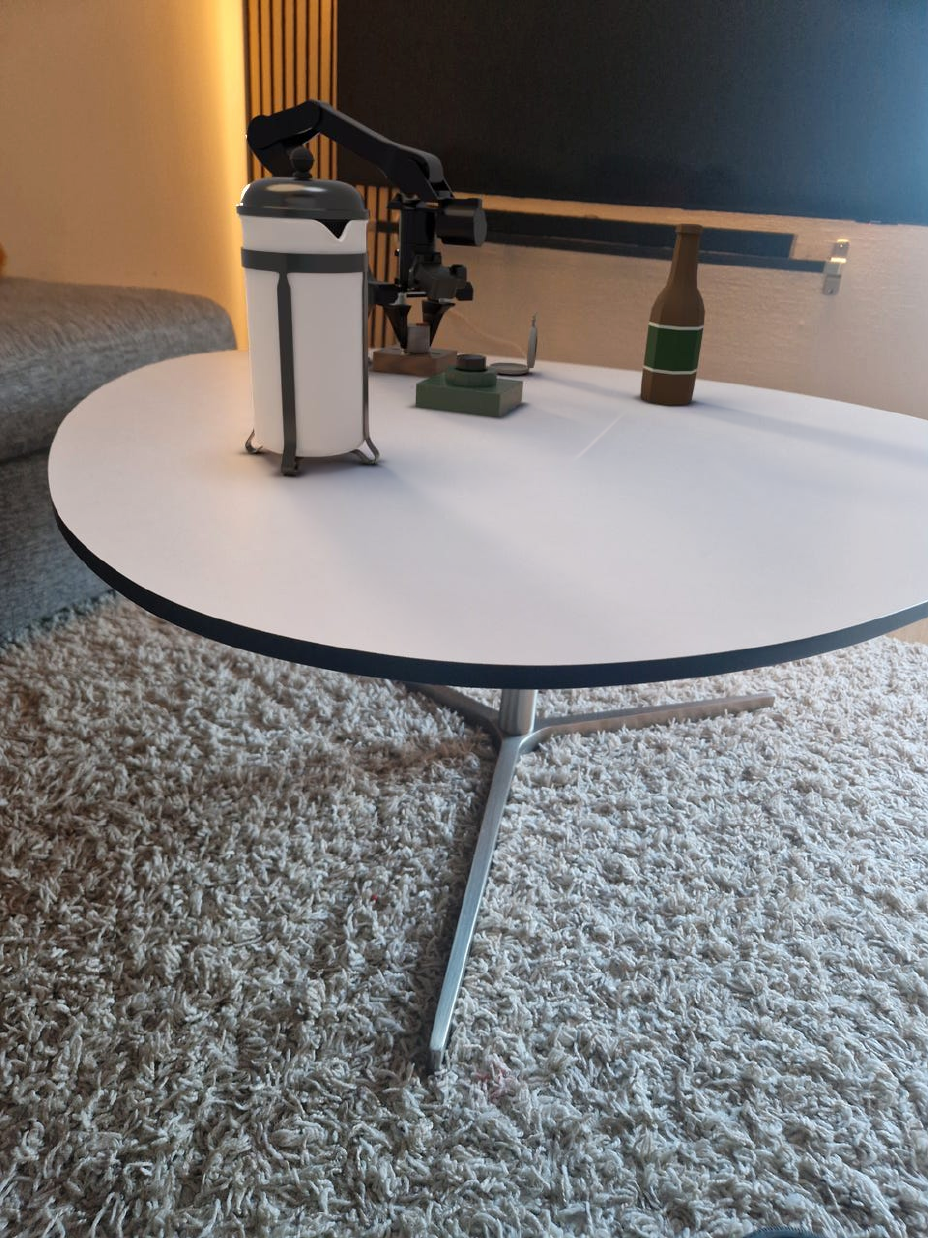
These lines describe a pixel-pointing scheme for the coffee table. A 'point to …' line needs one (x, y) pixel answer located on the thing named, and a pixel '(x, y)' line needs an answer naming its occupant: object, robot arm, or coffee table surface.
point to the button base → (469, 392)
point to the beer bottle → (675, 327)
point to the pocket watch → (531, 355)
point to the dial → (418, 338)
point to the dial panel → (413, 361)
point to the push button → (471, 363)
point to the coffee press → (307, 314)
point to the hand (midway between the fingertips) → (415, 347)
